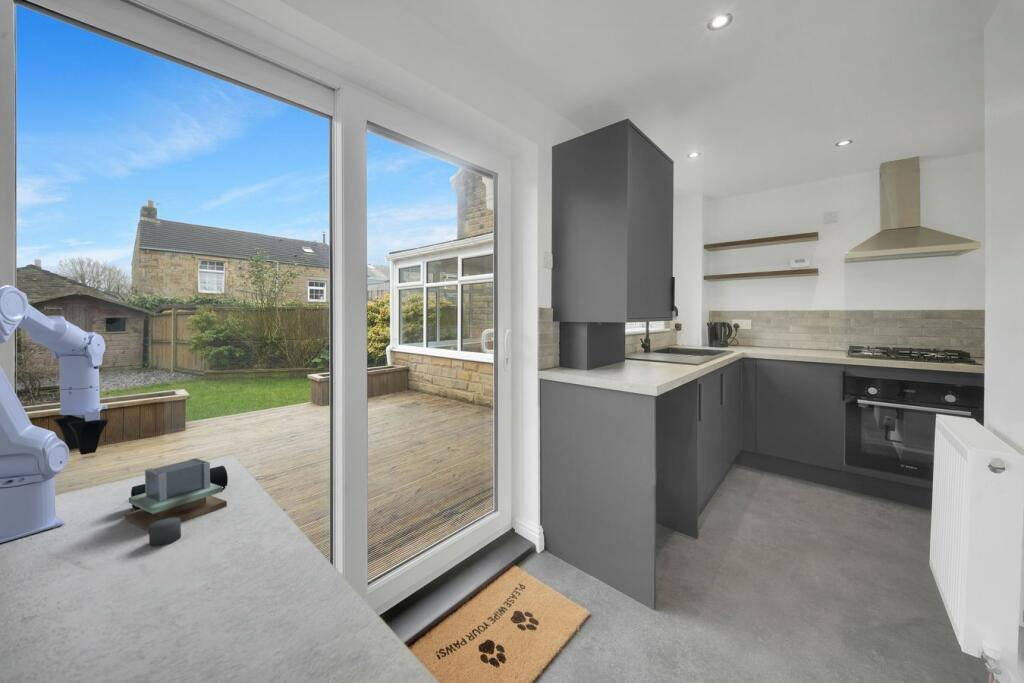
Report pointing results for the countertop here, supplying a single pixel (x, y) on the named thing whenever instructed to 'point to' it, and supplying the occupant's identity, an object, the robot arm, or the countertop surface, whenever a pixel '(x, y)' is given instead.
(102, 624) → the countertop surface
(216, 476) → the pipe connector
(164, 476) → the housing
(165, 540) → the knob
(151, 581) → the countertop surface
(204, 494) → the stand
